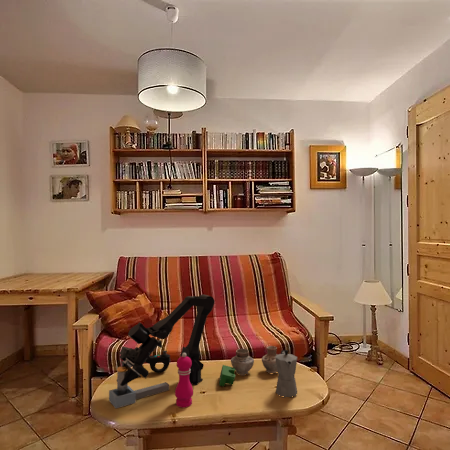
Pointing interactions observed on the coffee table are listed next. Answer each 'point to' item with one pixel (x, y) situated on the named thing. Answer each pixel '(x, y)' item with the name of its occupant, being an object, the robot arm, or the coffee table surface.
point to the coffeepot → (286, 374)
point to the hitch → (135, 394)
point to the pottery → (246, 362)
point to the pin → (120, 376)
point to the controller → (159, 358)
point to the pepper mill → (184, 382)
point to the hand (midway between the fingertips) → (119, 383)
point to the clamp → (227, 375)
